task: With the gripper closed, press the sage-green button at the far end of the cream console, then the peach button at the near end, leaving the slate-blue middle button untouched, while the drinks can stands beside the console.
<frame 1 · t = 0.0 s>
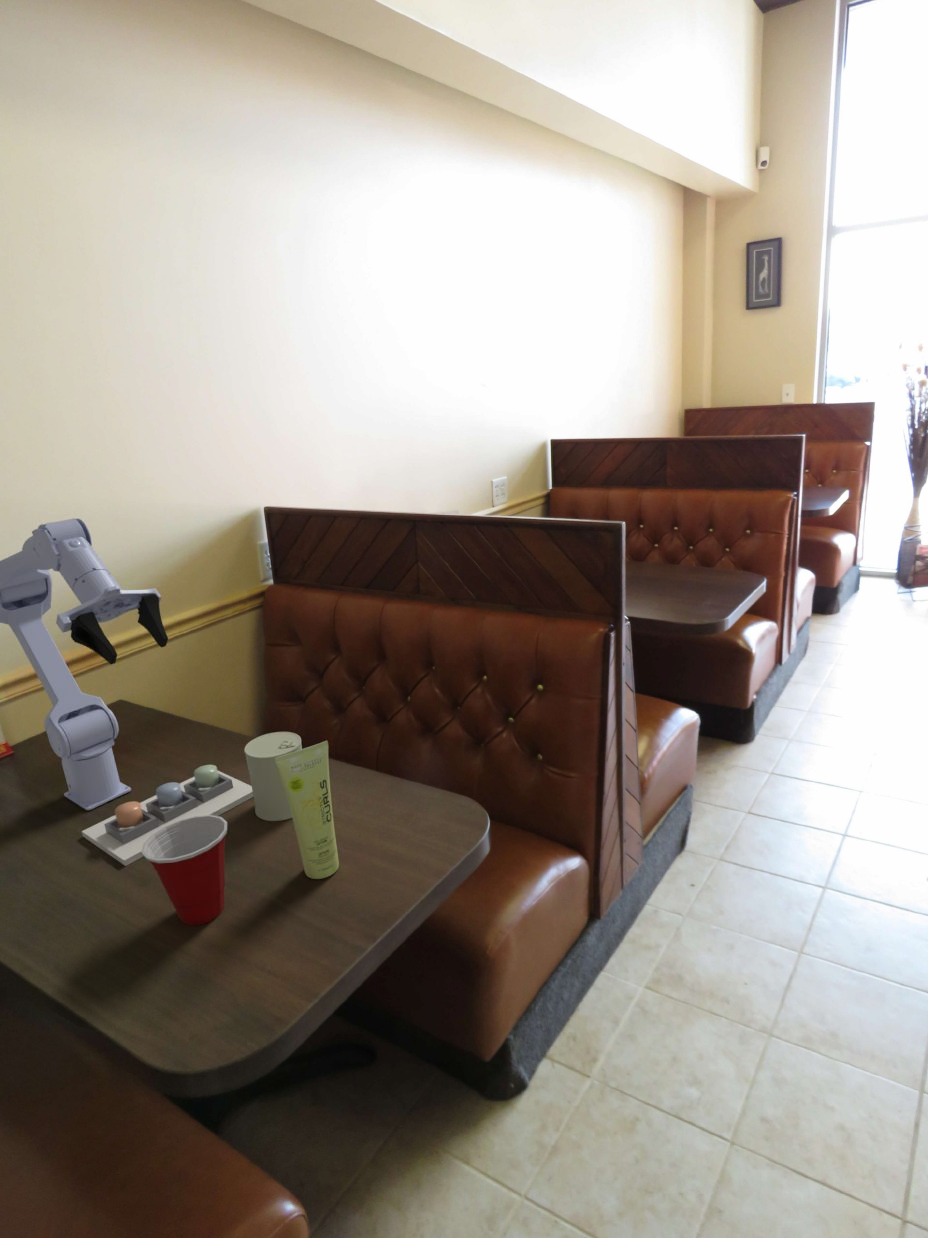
hand: (140, 651, 106), 32 cm above the table, tool tilted 50°, fingers open, 7 cm apart
slate button: (169, 794, 124), point 4 cm above the table, slide at 0.0 cm
peach button: (129, 814, 119), point 4 cm above the table, slide at 0.0 cm
console: (173, 814, 125), on the table
plastic cup: (201, 911, 101), on the table
tube: (320, 871, 107), on the table
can: (283, 807, 125), on the table
sage button: (206, 776, 129), point 4 cm above the table, slide at 0.0 cm
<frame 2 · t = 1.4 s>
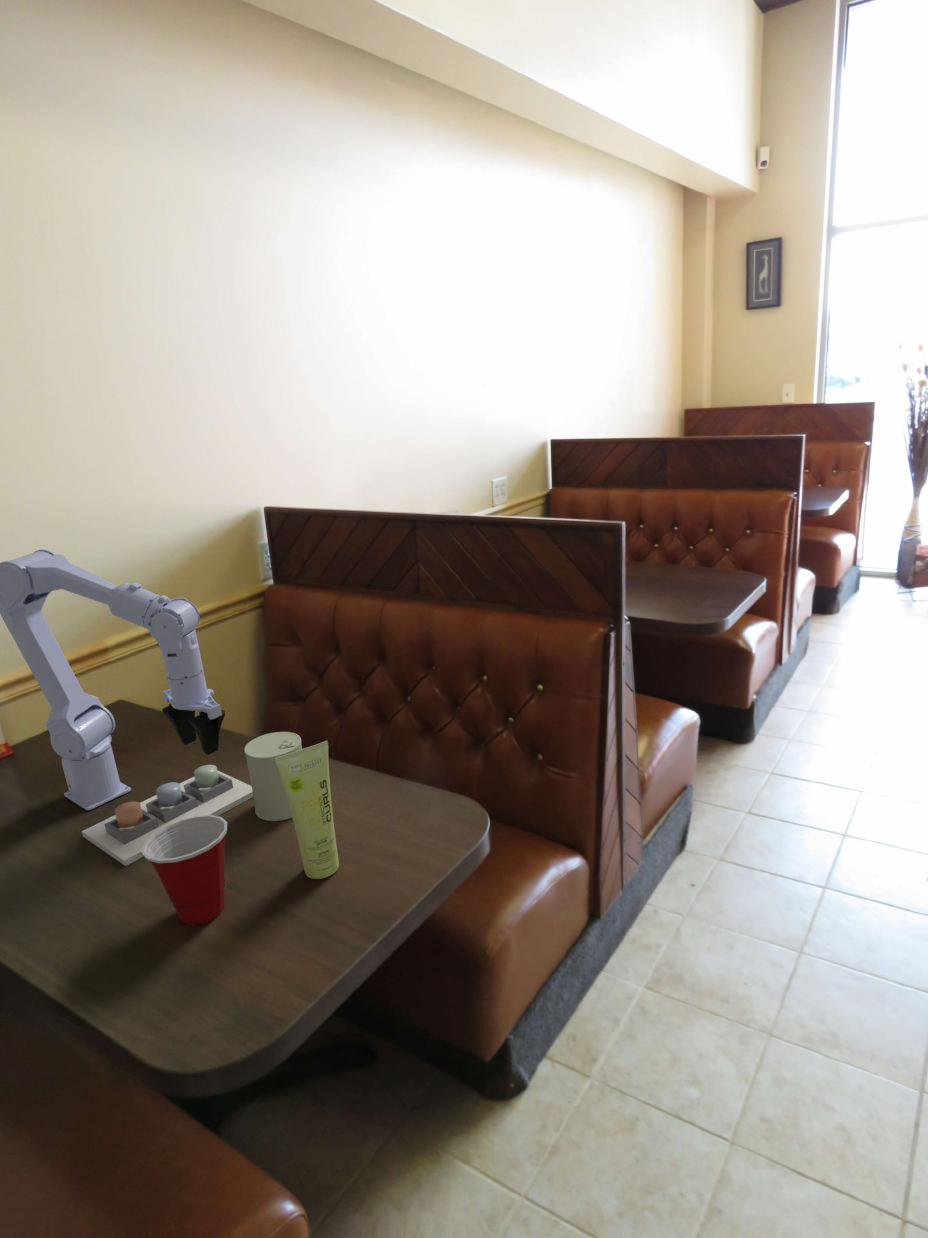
hand: (200, 747, 127), 9 cm above the table, tool pointing down, fingers open, 6 cm apart
nothing on the table moved.
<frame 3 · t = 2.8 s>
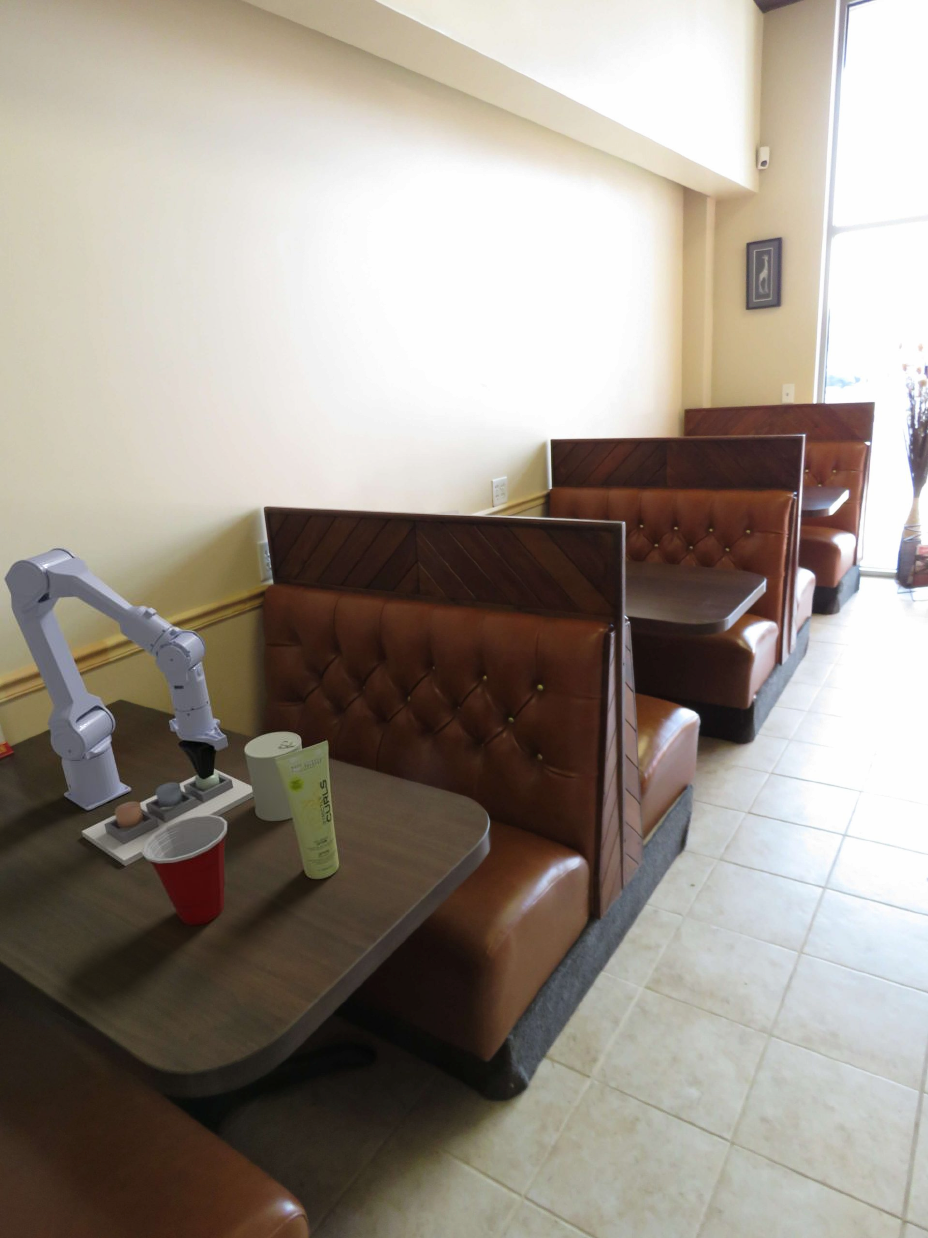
hand: (206, 776, 129), 4 cm above the table, tool pointing down, fingers closed, pressing on sage button
sage button: (207, 782, 129), point 3 cm above the table, slide at 1.1 cm, touching gripper
everything else where it was.
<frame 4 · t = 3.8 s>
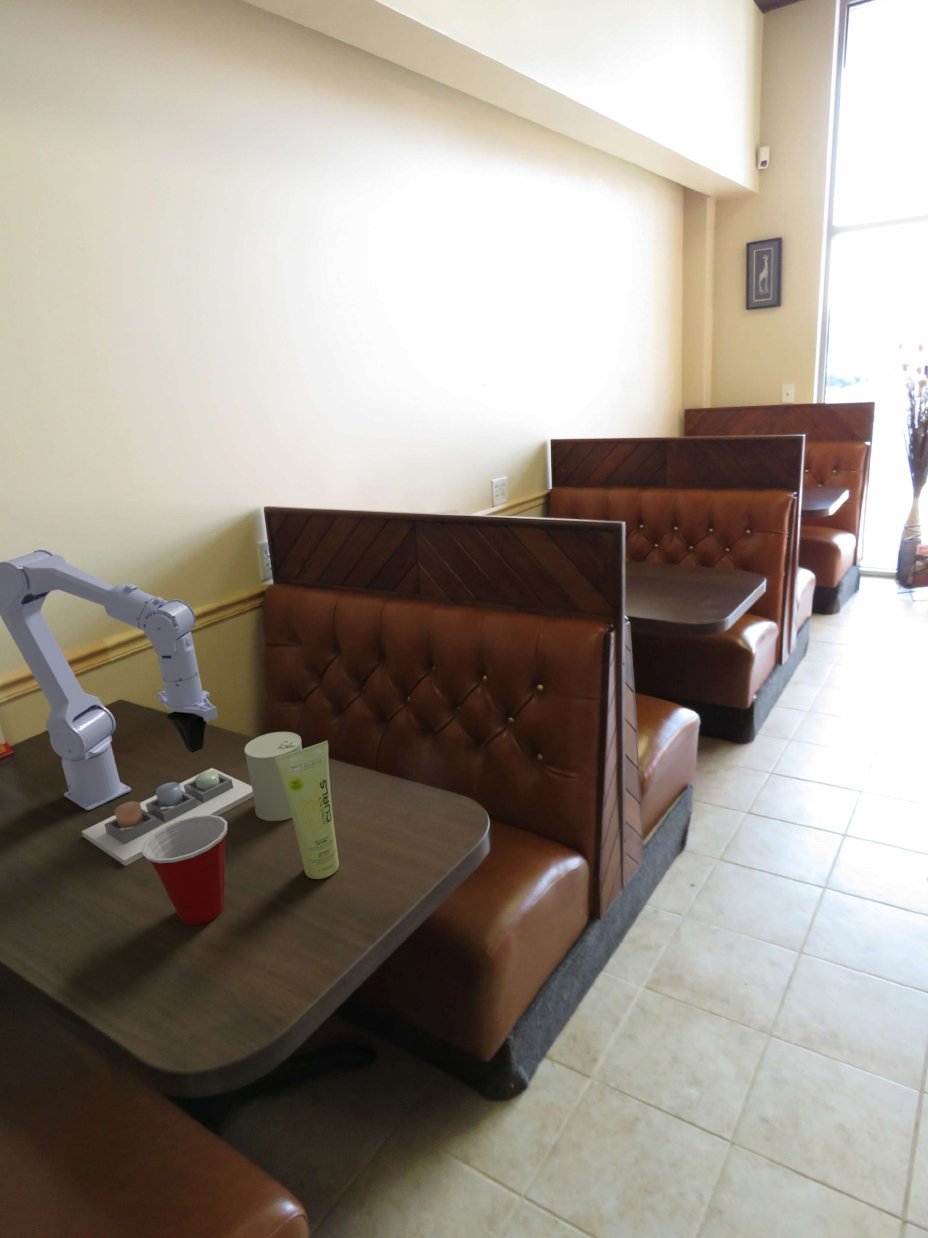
hand: (195, 749, 127), 9 cm above the table, tool pointing down, fingers closed
sage button: (207, 783, 129), point 2 cm above the table, slide at 1.3 cm
everything else where it was.
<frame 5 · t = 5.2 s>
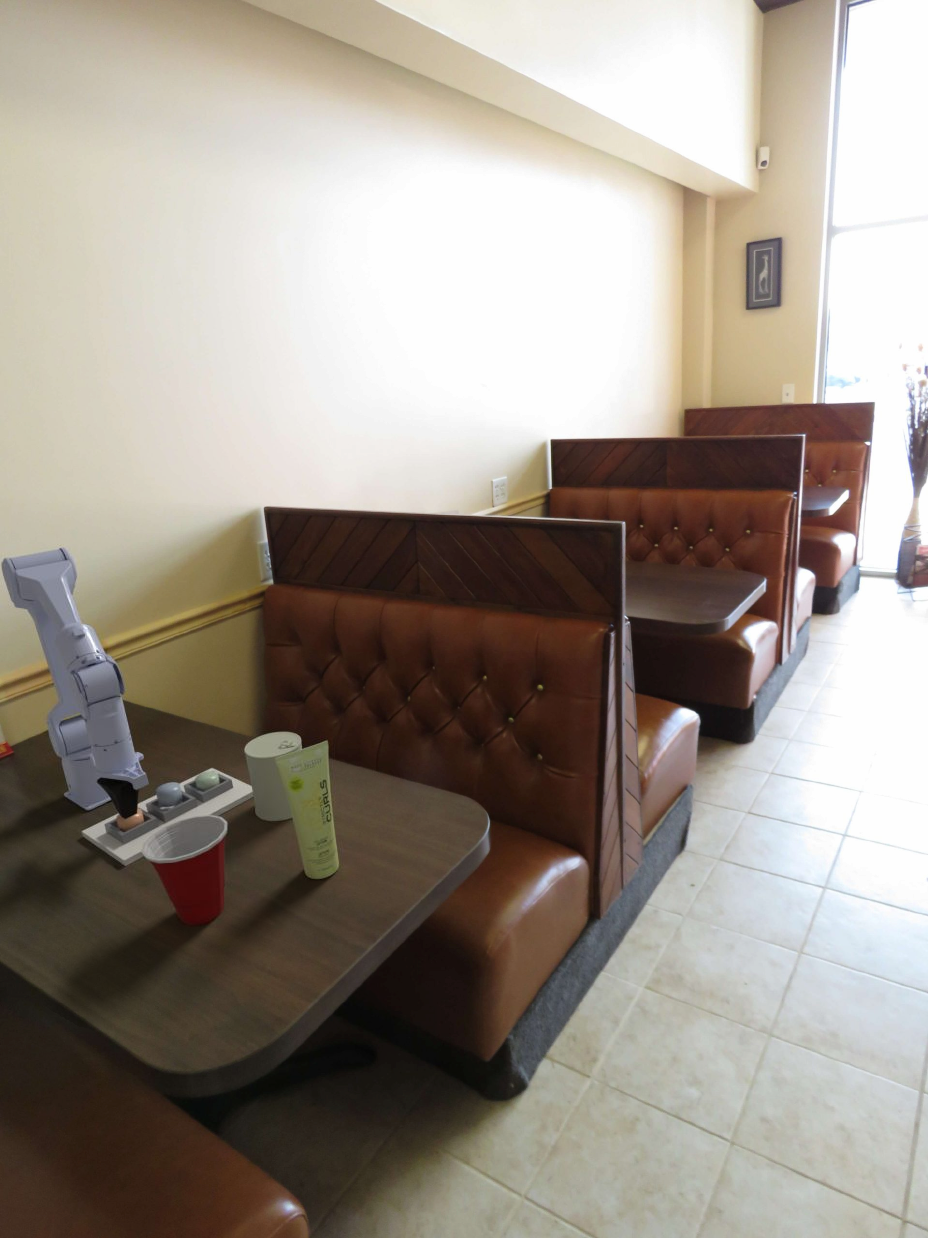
hand: (129, 815, 119), 4 cm above the table, tool pointing down, fingers closed, pressing on peach button
peach button: (130, 821, 119), point 3 cm above the table, slide at 1.3 cm, touching gripper
everything else where it was.
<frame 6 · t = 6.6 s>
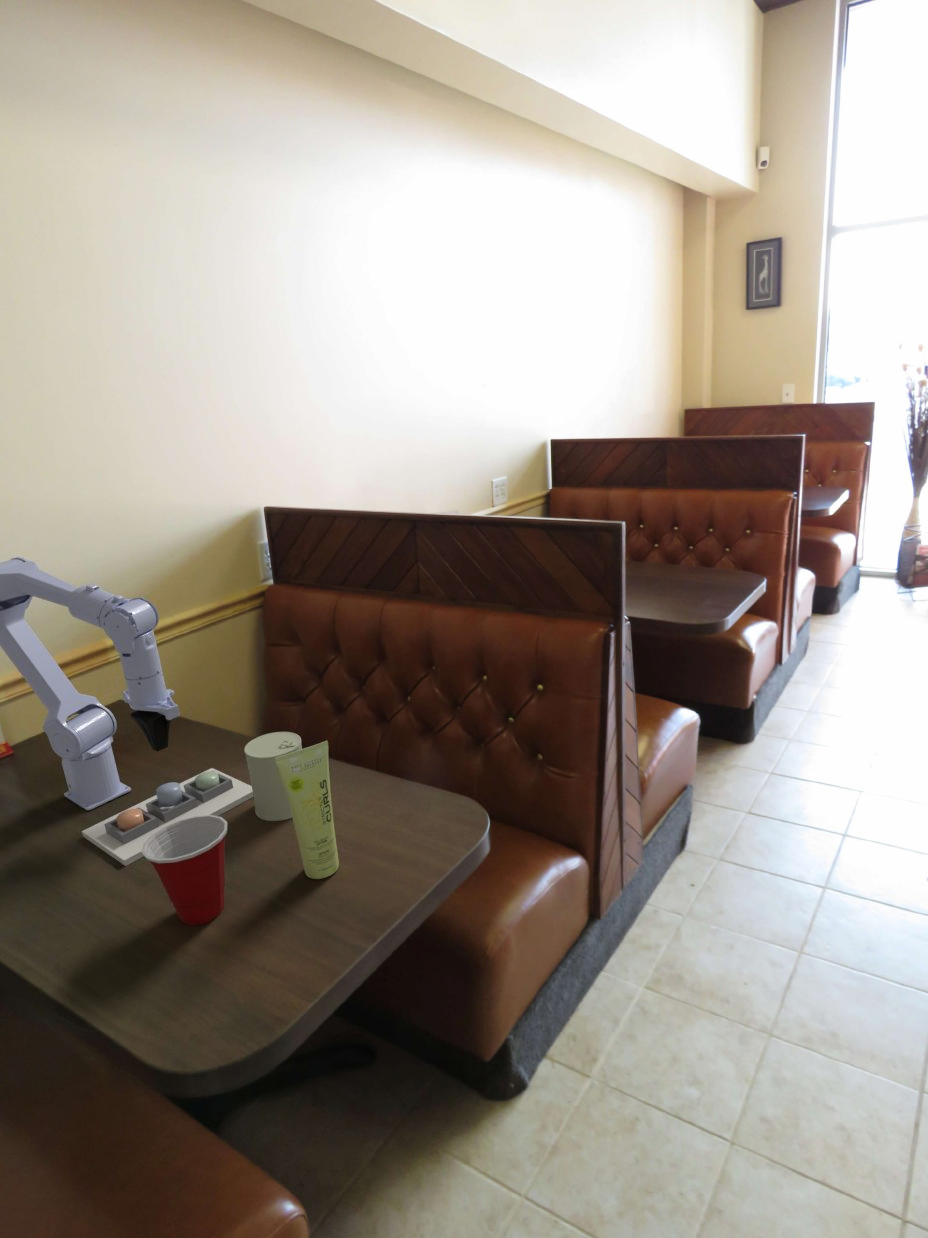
hand: (160, 748, 126), 10 cm above the table, tool pointing down, fingers closed
peach button: (130, 821, 119), point 2 cm above the table, slide at 1.3 cm
everything else where it was.
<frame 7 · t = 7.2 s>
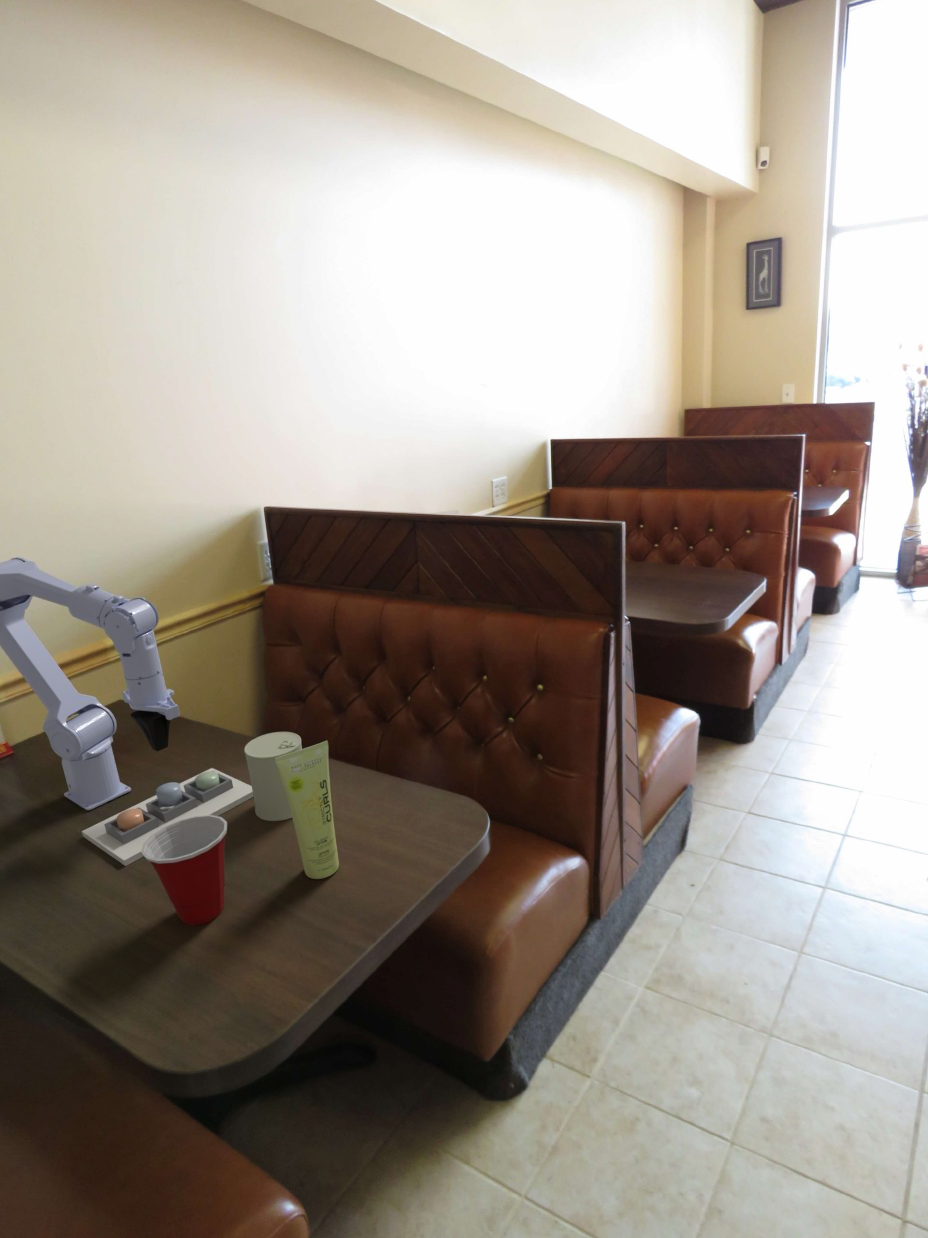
hand: (160, 748, 126), 10 cm above the table, tool pointing down, fingers closed
nothing on the table moved.
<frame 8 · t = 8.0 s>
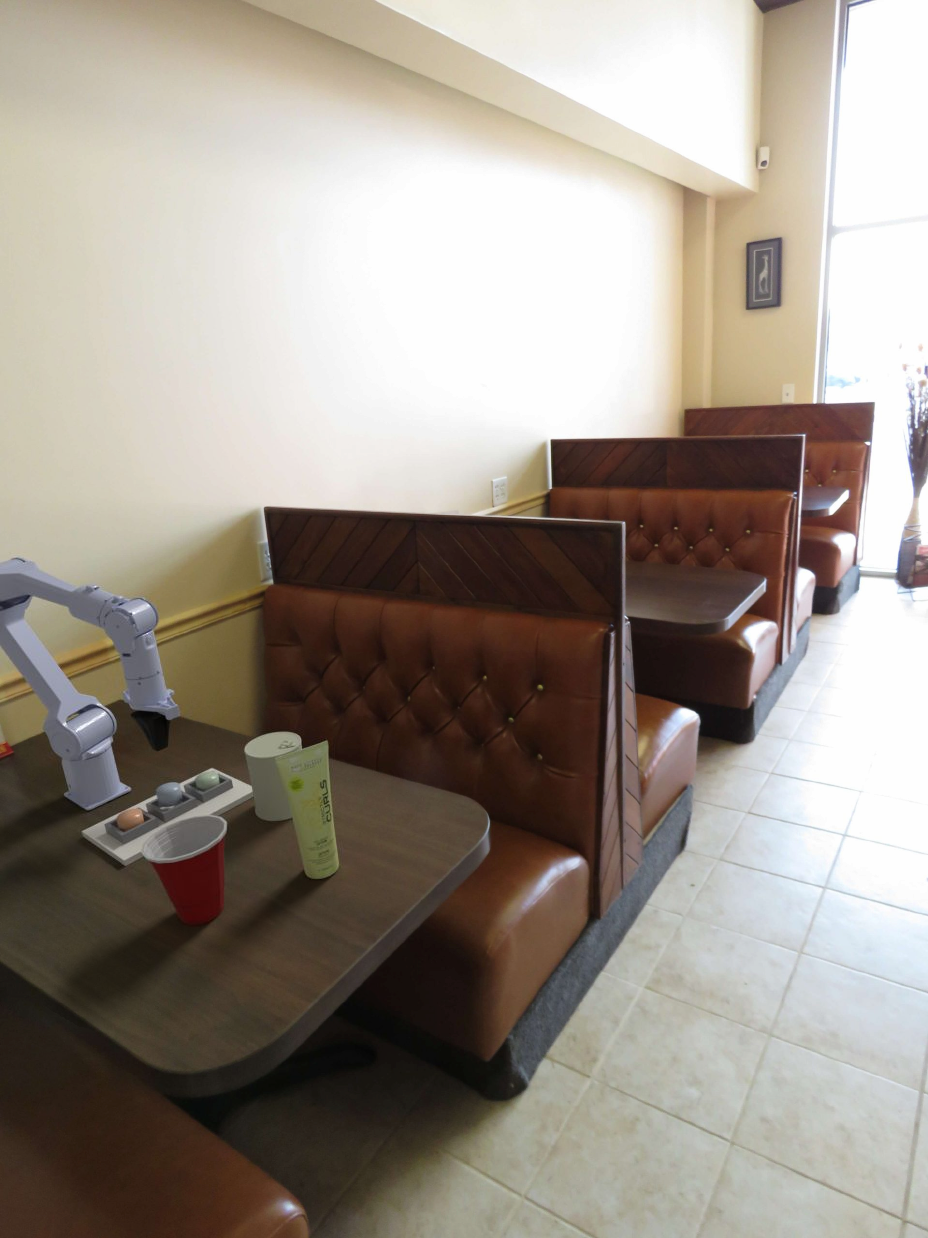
hand: (160, 748, 126), 10 cm above the table, tool pointing down, fingers closed
nothing on the table moved.
at the end: sage button slide at 1.3 cm; peach button slide at 1.3 cm; slate button slide at 0.0 cm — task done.
